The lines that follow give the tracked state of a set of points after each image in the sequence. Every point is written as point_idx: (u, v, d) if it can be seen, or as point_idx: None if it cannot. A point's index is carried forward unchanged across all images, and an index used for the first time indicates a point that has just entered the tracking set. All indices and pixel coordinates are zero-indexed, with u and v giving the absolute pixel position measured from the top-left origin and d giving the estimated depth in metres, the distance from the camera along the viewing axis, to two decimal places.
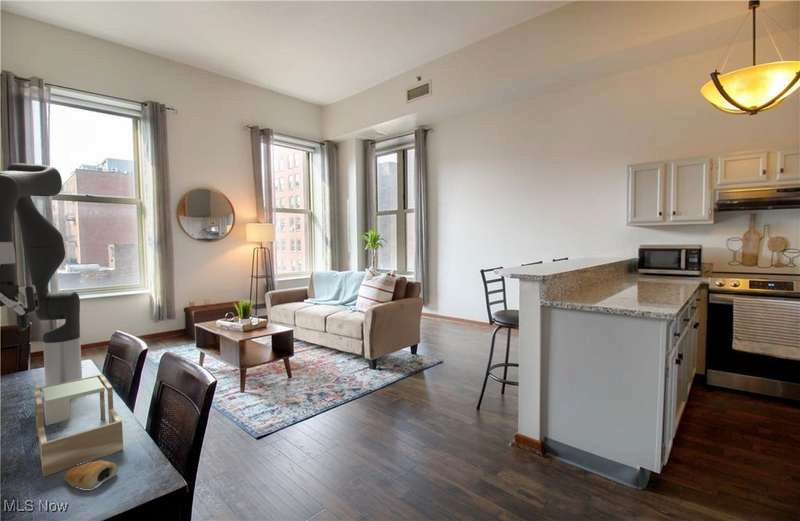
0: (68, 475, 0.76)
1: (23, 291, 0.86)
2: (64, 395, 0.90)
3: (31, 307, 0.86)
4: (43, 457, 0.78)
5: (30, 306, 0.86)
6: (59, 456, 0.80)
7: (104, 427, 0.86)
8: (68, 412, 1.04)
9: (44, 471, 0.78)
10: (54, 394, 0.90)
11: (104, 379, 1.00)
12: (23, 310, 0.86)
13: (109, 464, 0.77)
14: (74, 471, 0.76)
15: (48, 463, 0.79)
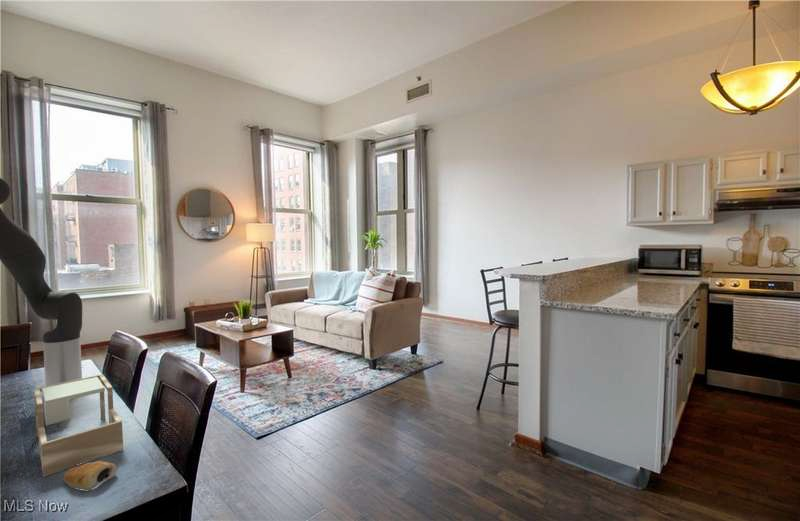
0: (67, 476, 0.75)
1: None
2: (64, 395, 0.90)
3: None
4: (43, 457, 0.78)
5: None
6: (59, 456, 0.80)
7: (104, 427, 0.86)
8: (68, 412, 1.04)
9: (44, 471, 0.78)
10: (54, 394, 0.90)
11: (104, 379, 1.00)
12: None
13: (108, 465, 0.77)
14: (73, 472, 0.76)
15: (48, 463, 0.79)
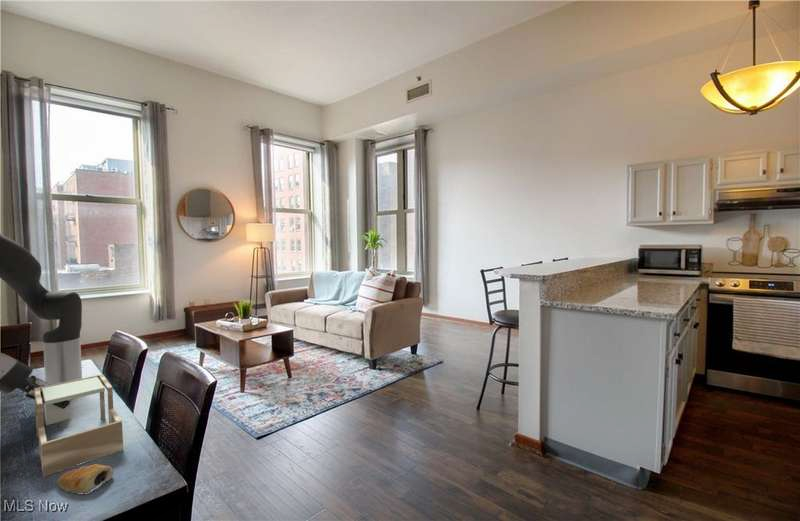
0: (62, 480, 0.74)
1: None
2: (64, 395, 0.90)
3: (44, 402, 0.98)
4: (43, 457, 0.78)
5: None
6: (59, 456, 0.80)
7: (104, 427, 0.86)
8: (68, 412, 1.04)
9: (44, 471, 0.78)
10: (54, 394, 0.90)
11: (104, 379, 1.00)
12: None
13: (105, 467, 0.76)
14: (68, 476, 0.74)
15: (48, 463, 0.79)
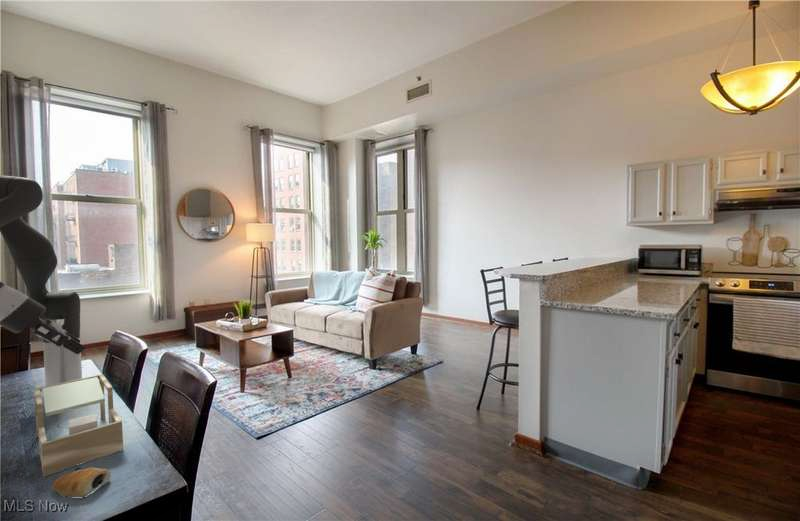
0: (57, 485, 0.73)
1: None
2: (65, 406, 0.90)
3: (55, 344, 0.85)
4: (43, 457, 0.78)
5: (54, 343, 0.85)
6: (59, 456, 0.80)
7: (104, 427, 0.86)
8: None
9: (44, 471, 0.78)
10: (55, 402, 0.91)
11: (104, 379, 1.00)
12: None
13: (102, 470, 0.75)
14: (64, 480, 0.73)
15: (48, 463, 0.79)
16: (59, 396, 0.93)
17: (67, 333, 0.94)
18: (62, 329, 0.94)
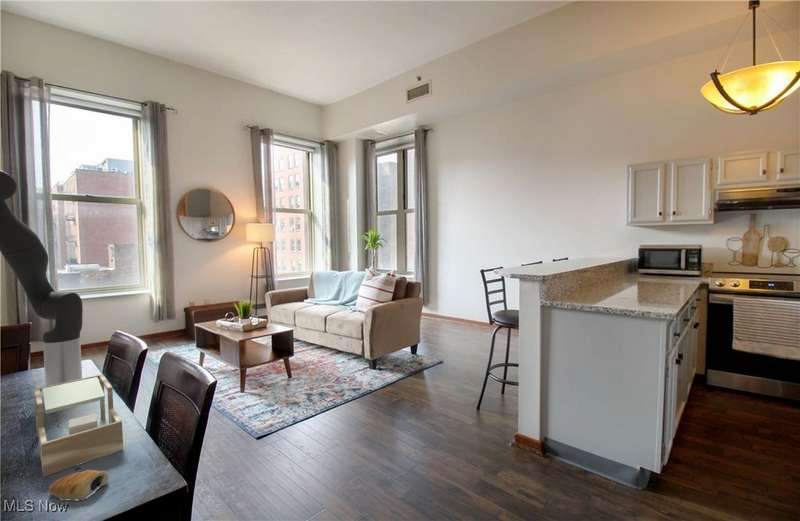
0: (54, 488, 0.72)
1: None
2: (65, 403, 0.90)
3: None
4: (43, 457, 0.78)
5: None
6: (59, 456, 0.80)
7: (104, 427, 0.86)
8: None
9: (44, 471, 0.78)
10: (54, 400, 0.91)
11: (104, 379, 1.00)
12: None
13: (100, 472, 0.75)
14: (61, 483, 0.72)
15: (48, 463, 0.79)
16: (59, 395, 0.93)
17: None
18: None
